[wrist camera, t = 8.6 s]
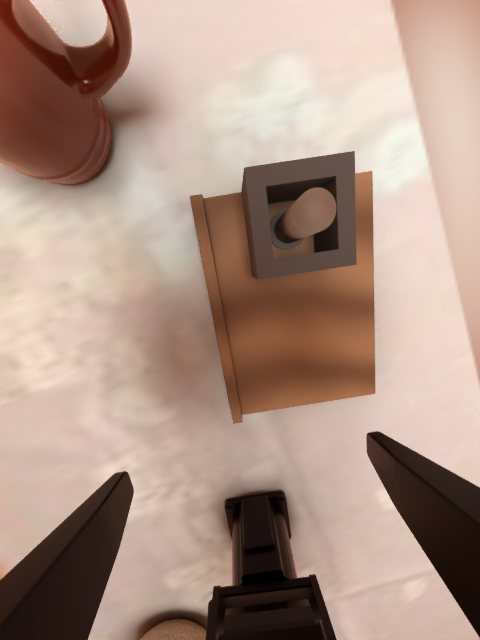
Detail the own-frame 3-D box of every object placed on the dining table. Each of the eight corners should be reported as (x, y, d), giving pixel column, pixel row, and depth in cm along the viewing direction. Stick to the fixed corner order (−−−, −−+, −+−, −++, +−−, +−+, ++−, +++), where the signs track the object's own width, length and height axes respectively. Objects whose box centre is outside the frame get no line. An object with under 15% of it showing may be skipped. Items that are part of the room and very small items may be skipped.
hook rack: (367, 386, 21) (433, 445, 14) (233, 407, 21) (233, 476, 14) (362, 177, 17) (453, 115, 10) (195, 204, 17) (169, 162, 10)
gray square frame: (328, 265, 17) (356, 264, 13) (252, 276, 17) (258, 279, 13) (324, 179, 16) (354, 151, 12) (241, 191, 16) (244, 167, 12)
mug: (31, 212, 17) (-259, 134, 7) (-25, 72, 15) (-556, -329, 5) (186, 177, 17) (117, 45, 7) (150, 30, 15) (-25, -478, 5)
